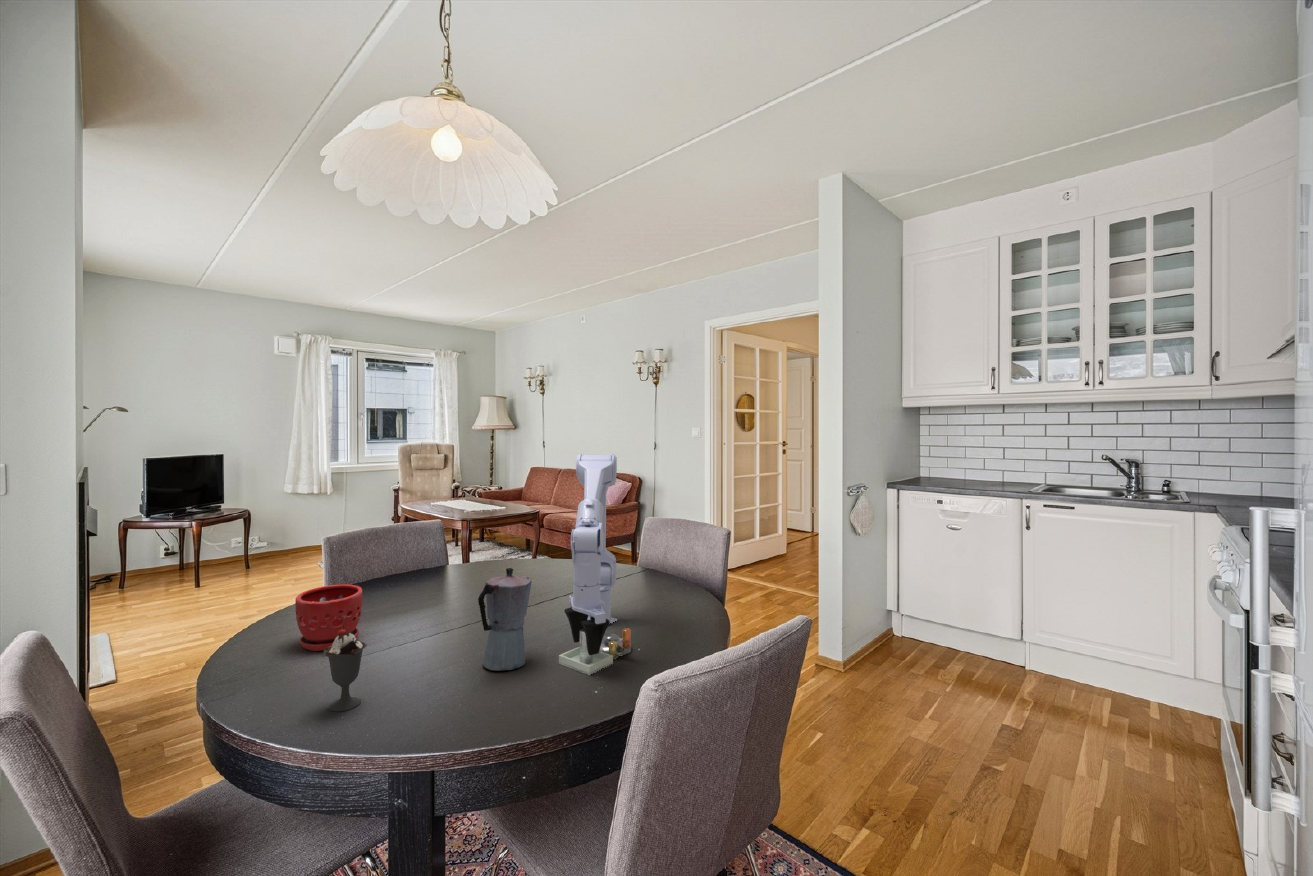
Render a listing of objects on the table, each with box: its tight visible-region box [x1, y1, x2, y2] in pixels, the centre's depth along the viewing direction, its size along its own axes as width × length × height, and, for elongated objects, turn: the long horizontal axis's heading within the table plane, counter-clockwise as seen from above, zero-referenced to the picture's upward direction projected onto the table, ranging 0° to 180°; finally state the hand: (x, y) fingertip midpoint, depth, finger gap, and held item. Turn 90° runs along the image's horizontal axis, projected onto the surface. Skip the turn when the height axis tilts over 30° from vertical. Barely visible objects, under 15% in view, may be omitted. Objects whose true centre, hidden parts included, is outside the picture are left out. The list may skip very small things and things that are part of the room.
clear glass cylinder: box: [579, 629, 593, 664], centre depth 114 cm, size 3×3×6 cm
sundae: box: [323, 619, 368, 712], centre depth 95 cm, size 7×7×15 cm
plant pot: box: [295, 584, 364, 652], centre depth 123 cm, size 13×13×12 cm
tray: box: [558, 646, 614, 677], centre depth 114 cm, size 9×7×2 cm
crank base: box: [599, 636, 624, 660], centre depth 121 cm, size 9×9×3 cm
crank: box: [603, 627, 632, 654], centre depth 119 cm, size 9×3×5 cm, turn 36°
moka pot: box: [477, 567, 532, 672], centre depth 113 cm, size 10×15×20 cm, turn 161°
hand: (585, 647), depth 114 cm, fingers open, 7 cm apart
